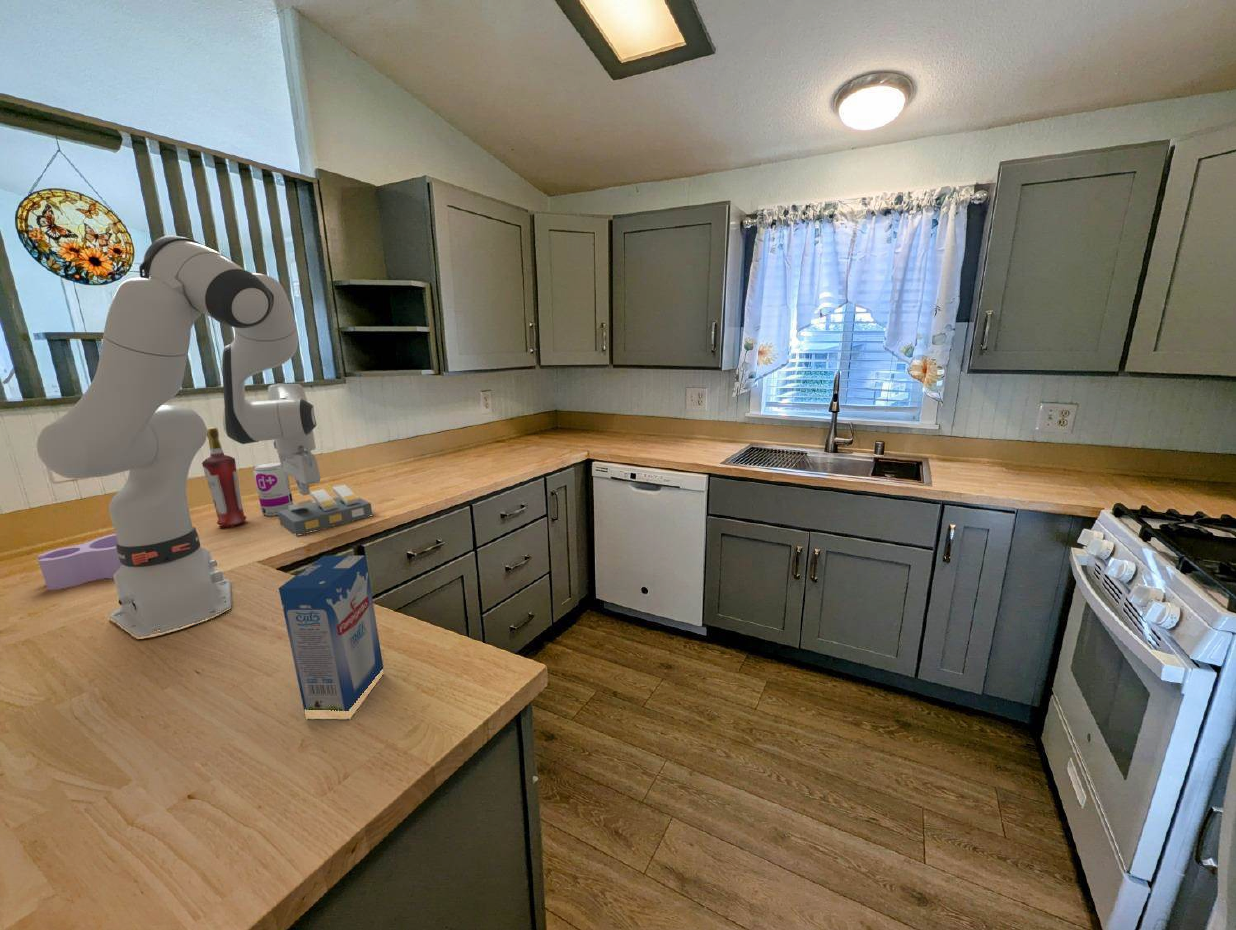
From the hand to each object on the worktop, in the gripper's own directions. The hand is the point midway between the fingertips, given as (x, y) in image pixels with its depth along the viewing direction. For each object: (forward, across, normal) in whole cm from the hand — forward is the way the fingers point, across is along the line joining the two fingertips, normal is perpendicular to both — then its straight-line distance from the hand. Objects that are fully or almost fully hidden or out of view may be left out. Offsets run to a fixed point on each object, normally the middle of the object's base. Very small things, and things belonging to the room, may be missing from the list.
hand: (304, 494), depth 139 cm
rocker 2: (+4, +4, -6) cm, 8 cm away
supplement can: (+11, +24, +2) cm, 27 cm away
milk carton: (+10, -80, +19) cm, 83 cm away
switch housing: (+10, +4, -6) cm, 12 cm away
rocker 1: (+4, +4, 0) cm, 6 cm away
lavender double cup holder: (+11, +8, +40) cm, 42 cm away
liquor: (+11, +22, +14) cm, 28 cm away
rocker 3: (+4, +5, -12) cm, 13 cm away
